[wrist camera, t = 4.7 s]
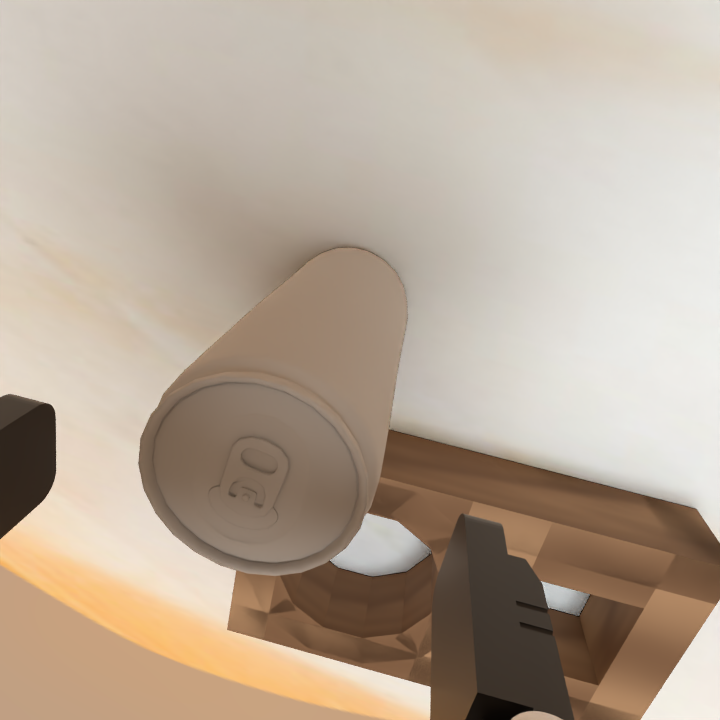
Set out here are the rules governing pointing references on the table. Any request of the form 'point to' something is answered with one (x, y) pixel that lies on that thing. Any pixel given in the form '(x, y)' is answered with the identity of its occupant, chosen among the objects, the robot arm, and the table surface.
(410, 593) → the walnut bore block
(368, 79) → the table surface
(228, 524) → the beverage can
